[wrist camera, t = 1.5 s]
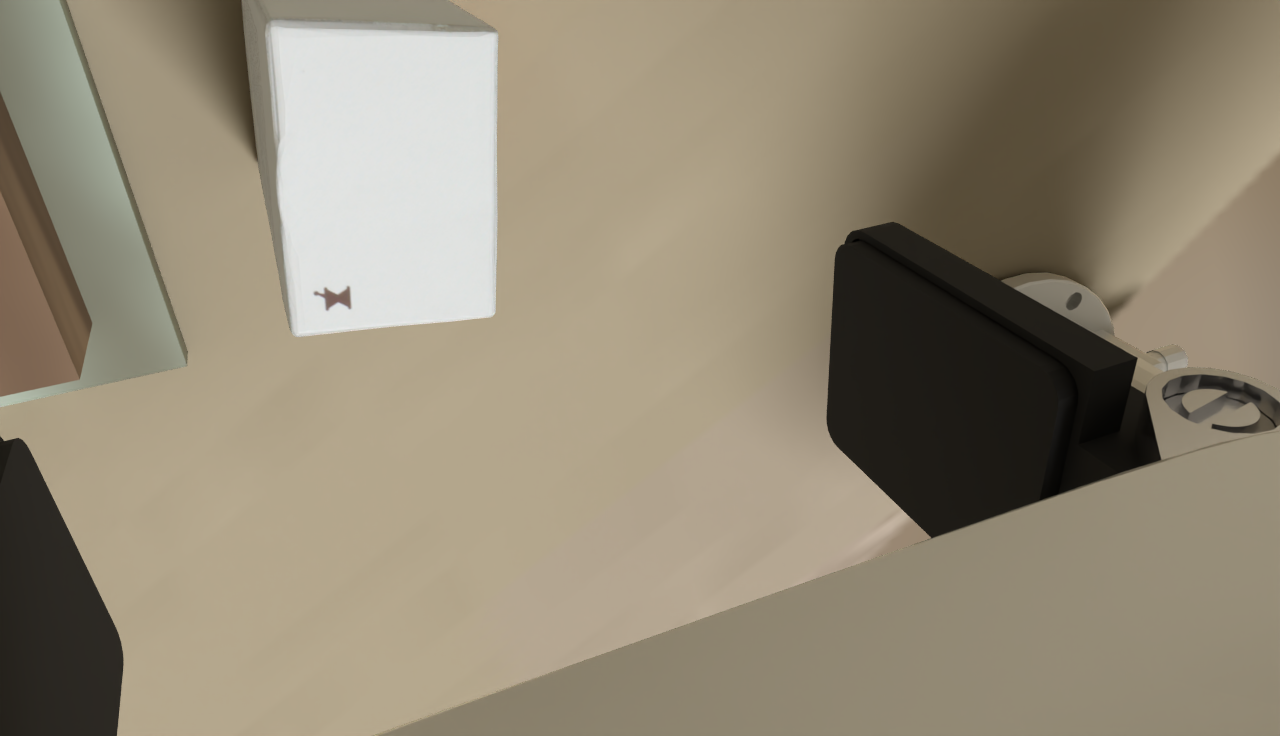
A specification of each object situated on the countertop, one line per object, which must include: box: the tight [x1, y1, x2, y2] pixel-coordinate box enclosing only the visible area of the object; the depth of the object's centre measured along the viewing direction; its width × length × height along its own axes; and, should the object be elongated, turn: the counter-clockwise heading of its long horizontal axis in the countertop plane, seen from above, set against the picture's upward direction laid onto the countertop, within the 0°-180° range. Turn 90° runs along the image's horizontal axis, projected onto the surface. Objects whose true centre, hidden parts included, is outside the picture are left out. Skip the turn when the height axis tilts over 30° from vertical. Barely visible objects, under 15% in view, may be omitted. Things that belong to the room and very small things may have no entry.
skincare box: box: [241, 0, 498, 337], centre depth 23 cm, size 6×4×12 cm
